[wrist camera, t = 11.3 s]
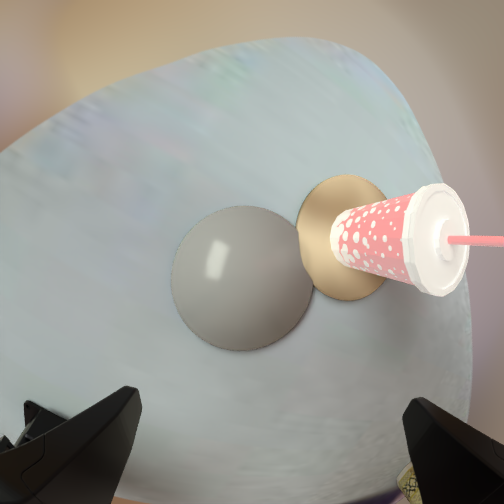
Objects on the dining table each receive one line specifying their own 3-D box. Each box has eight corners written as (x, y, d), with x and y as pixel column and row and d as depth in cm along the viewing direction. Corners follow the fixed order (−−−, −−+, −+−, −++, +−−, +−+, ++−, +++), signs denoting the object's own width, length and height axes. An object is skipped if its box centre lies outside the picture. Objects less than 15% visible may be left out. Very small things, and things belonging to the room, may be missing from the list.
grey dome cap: (280, 360, 20) (283, 363, 19) (151, 322, 17) (151, 325, 17) (327, 239, 20) (331, 239, 20) (204, 184, 18) (205, 182, 17)
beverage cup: (319, 279, 20) (497, 327, 6) (320, 195, 19) (498, 153, 6) (380, 275, 21) (531, 302, 8) (381, 203, 21) (533, 185, 8)
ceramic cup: (385, 477, 26) (423, 510, 16) (432, 437, 28) (472, 462, 19) (389, 500, 28) (418, 527, 18) (428, 467, 30) (459, 490, 21)
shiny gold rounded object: (372, 312, 22) (376, 313, 22) (275, 276, 19) (278, 277, 19) (403, 209, 23) (407, 208, 22) (319, 154, 20) (322, 152, 19)
